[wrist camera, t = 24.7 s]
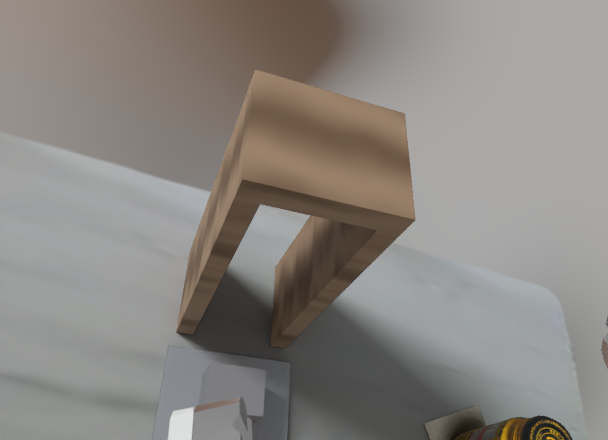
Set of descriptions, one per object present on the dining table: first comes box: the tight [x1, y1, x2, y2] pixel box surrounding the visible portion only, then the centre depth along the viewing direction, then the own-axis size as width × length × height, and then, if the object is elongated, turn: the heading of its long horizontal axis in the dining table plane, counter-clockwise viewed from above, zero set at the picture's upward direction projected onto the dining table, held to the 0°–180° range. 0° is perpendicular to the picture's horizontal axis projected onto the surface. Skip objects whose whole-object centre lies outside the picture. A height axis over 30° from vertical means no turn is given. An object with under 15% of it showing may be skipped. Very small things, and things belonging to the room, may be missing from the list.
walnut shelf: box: [176, 70, 415, 348], centre depth 44 cm, size 9×11×26 cm
